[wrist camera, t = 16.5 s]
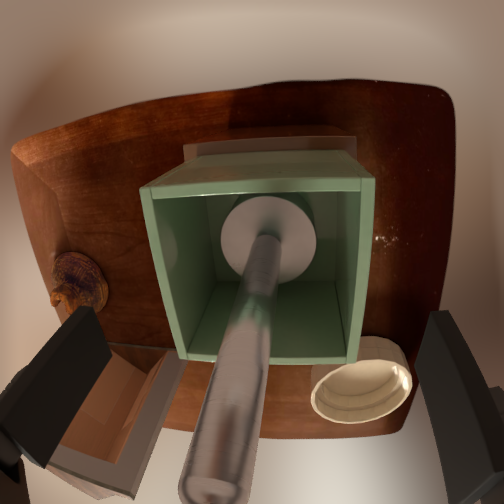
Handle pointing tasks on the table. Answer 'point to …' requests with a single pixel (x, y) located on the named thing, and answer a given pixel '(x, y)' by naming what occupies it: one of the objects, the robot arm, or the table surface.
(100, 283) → the bell
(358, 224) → the utensil holder
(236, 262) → the rod with disc base
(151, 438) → the cabinet
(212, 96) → the table surface
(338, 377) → the mixing bowl
